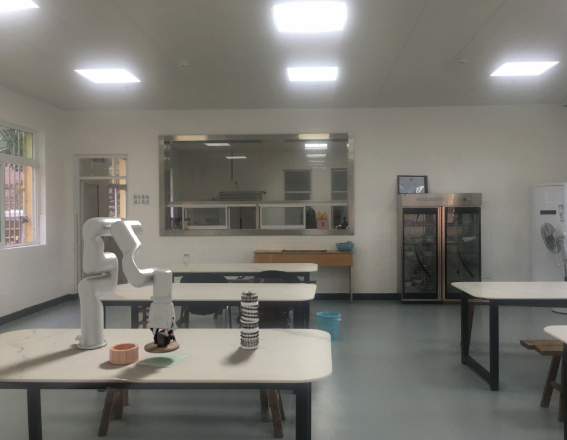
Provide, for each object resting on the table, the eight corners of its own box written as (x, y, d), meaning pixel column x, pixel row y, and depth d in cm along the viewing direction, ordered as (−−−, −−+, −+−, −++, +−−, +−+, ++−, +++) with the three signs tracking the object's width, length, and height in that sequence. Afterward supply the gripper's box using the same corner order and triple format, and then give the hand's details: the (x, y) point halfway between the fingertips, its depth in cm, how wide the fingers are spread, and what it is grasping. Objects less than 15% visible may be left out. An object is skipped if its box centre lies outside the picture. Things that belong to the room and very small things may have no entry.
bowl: (104, 364, 173) (103, 349, 173) (121, 355, 183) (121, 341, 183) (127, 367, 169) (127, 351, 169) (144, 358, 180) (144, 343, 180)
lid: (136, 351, 172) (137, 336, 172) (156, 341, 186) (156, 327, 186) (167, 355, 168) (167, 340, 168) (185, 344, 182) (185, 330, 182)
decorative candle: (247, 350, 189) (247, 294, 189) (235, 346, 196) (235, 291, 196) (264, 346, 195) (263, 291, 195) (251, 342, 202) (251, 288, 202)
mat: (136, 365, 172) (136, 363, 172) (157, 353, 186) (157, 352, 186) (169, 368, 167) (169, 367, 167) (188, 356, 182) (188, 355, 182)
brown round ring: (175, 348, 194) (165, 334, 193) (157, 356, 196) (148, 342, 194) (182, 334, 206) (173, 320, 204) (166, 342, 208) (156, 328, 206)
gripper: (139, 300, 175) (138, 344, 176) (175, 303, 170) (175, 349, 171) (150, 296, 182) (149, 339, 183) (185, 299, 178) (184, 343, 178)
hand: (162, 343), depth 177 cm, fingers closed on lid, 4 cm apart
